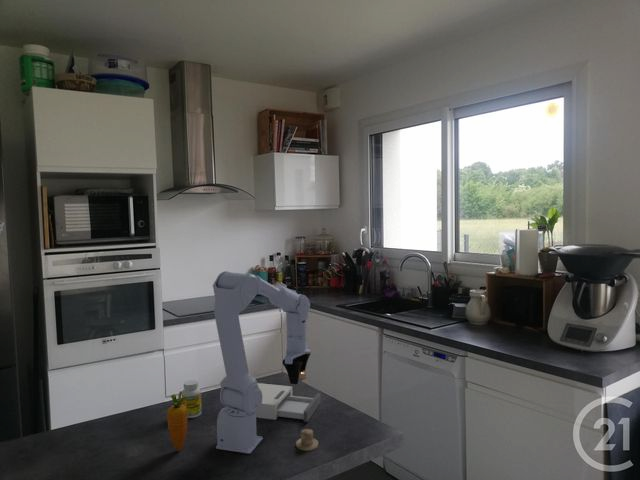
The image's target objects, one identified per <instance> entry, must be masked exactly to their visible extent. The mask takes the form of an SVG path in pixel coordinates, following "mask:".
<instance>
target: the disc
mask: <svg viewBox="0 0 640 480" xmlns="http://www.w3.org/2000/svg"><path fill="white" fill-rule="evenodd" d="M306 379H307V371H306V370H302V369H300V372H299V381H304V380H306ZM299 381H298V382H299Z"/></svg>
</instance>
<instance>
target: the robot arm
mask: <svg viewBox="0 0 640 480" xmlns="http://www.w3.org/2000/svg"><path fill="white" fill-rule="evenodd" d="M287 287H288V285H286V284H284V283H280V284H276V285H275V286H274V285H273V284H271V283H270V282H269V281H268V282H267V281H266V280H264V279H263V278H261V277H260V276H259V275H255V274H254V273H239V272H230V271H227V270H226V271H222V272H221V273H219V274H218V276H217V277H216V279H215V281H214V282H213V283H212V288H213V295H214V309H213V313H214V319H215V324H216V329H217V335H218V339H219V344H220V350H221V355H222V360H223V365H224V370H225V376H224V378H223V379H222V380H221V381H220V385H219V386H220V395H219V400H220V402H221V404H222V405H223V406H224V407H223V408H221V409H220V410H219V413H218V415H217V418H216V419H217V420H216V439H217V440H216V443H217V445H216V446H215V449H217V450H223V451H229V452H237V453H243V454H251V453H253V451H254V450H255V449H256V447H257V446H258V445H259V444H260V443H261V442H262V441H263V439H264V438H263V436H259V435H257V417H256V411H258V409H259V408H260V406H261V403H262V392H261V390H260V389H259V387H258V384H257V383H258V381H257V380H256V378H255V377H254V376H253V375H252V374H251V373H250V372H249V367H248V361H247V355H246V352H245V345H244V340H243V335H242V329H241V324H240V317H239V315H240V313H241V312H243V311H244V310H245V309H246V308H247V307H248V305H250V304H251V302H252V301H253V299H255V297H256V296H257V295H261V296H264V297H266V298H268V300H269V302H270V304H271V305H274V306H276V307H278V308H280V309H281V310H282V312H284V313H286V314H285V315H286V317H285V318H286V320H285V321H286V349H285V356H284V359H283V360H282V365H283V367H284V368H285V370H286V373H287V375H288V380H289V383H290V385H298V383H299V372H300V369H302V370H305V371H306V368H307V364H308V362H309V358H310V357H311V349H310V348H309V345H308V342H307V320H308V317H309V311H310V308H311V302H310V300H309V298H308V297H307V296H306V295H305V294H301V293H299V294H298V293H297V290H294V289H290V288H287Z"/></svg>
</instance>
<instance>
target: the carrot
mask: <svg viewBox="0 0 640 480" xmlns="http://www.w3.org/2000/svg"><path fill="white" fill-rule="evenodd" d="M182 391H183V390H182ZM182 391H181V390H180V391H179V393H178V396H177V395H176V394H175V393H173V394H171V395H170V398H171V399H172V404H173V405H171V406H170V407H169V408H168V409H167V411H166V418H167V420H166V421H167V427H168V428H167V429H168V433H169V436H170V437H169V438H170V440H171V442H172V444H173V446H174V448H175V450H176V451H178V452H180V451H181V450H182V448H183V447H184V443H185V441H186V438H187V432H188V422H189V421H188V419H189V418H188V411H187V408H186V407H185V406H184V405H182V401H183V400H184V399H185V398H187V397H186V396H184V397H182Z"/></svg>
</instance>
